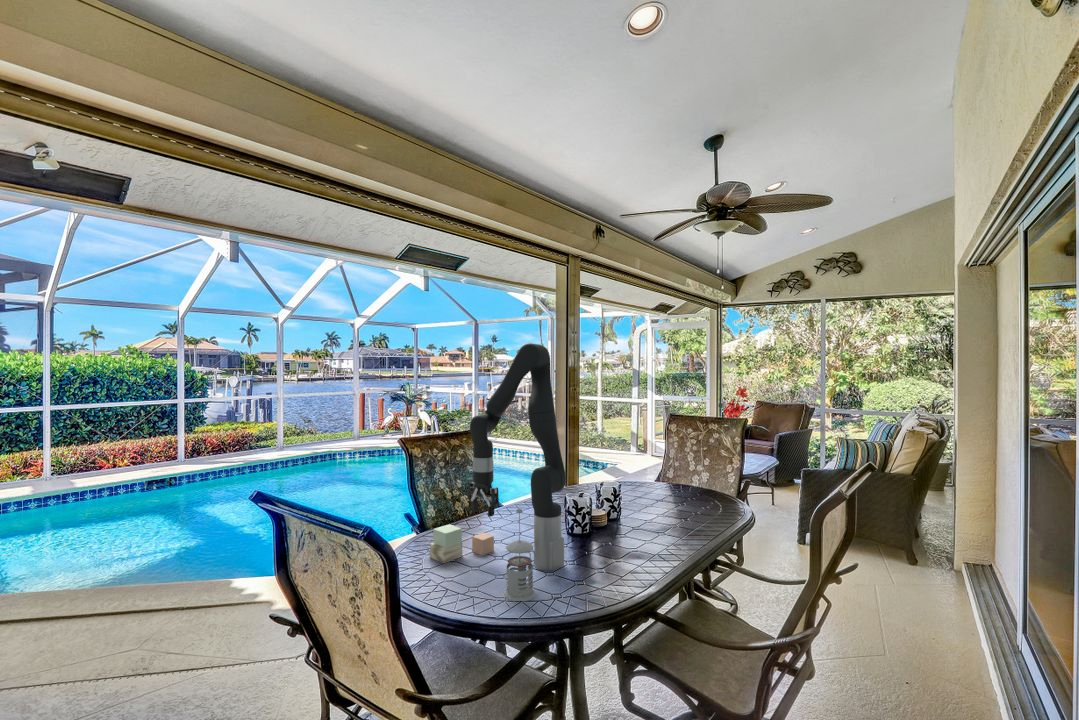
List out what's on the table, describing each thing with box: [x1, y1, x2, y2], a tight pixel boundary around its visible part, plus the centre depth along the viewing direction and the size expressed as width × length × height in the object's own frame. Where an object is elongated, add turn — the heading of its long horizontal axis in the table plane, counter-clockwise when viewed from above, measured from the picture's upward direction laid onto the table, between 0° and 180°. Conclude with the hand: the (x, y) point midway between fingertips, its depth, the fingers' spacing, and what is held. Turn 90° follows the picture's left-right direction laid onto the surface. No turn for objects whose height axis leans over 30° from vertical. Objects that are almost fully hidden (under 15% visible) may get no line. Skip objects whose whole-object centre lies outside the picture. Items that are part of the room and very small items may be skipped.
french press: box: [503, 508, 537, 602], centre depth 145 cm, size 10×12×25 cm
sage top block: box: [432, 523, 463, 548], centre depth 173 cm, size 7×7×5 cm
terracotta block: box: [471, 532, 495, 556], centre depth 177 cm, size 6×6×6 cm
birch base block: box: [429, 542, 463, 564], centre depth 172 cm, size 8×8×5 cm
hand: (482, 513), depth 177 cm, fingers open, 8 cm apart
